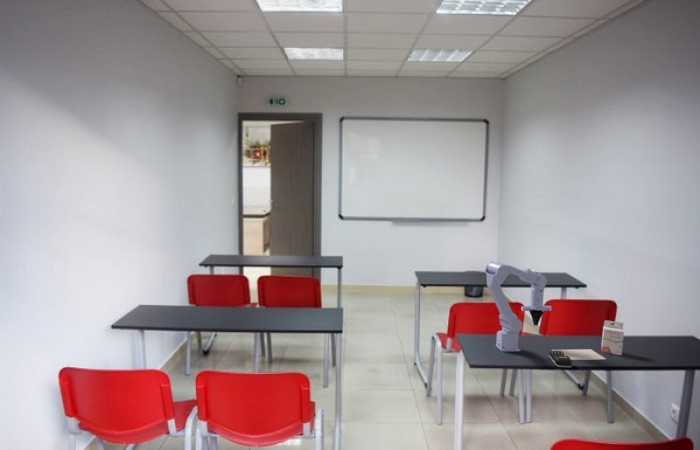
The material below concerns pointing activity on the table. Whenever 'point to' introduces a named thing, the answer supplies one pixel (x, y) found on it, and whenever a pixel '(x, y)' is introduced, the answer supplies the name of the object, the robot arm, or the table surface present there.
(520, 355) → the table surface
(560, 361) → the battery charger
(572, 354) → the mat
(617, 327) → the ink cartridge box
